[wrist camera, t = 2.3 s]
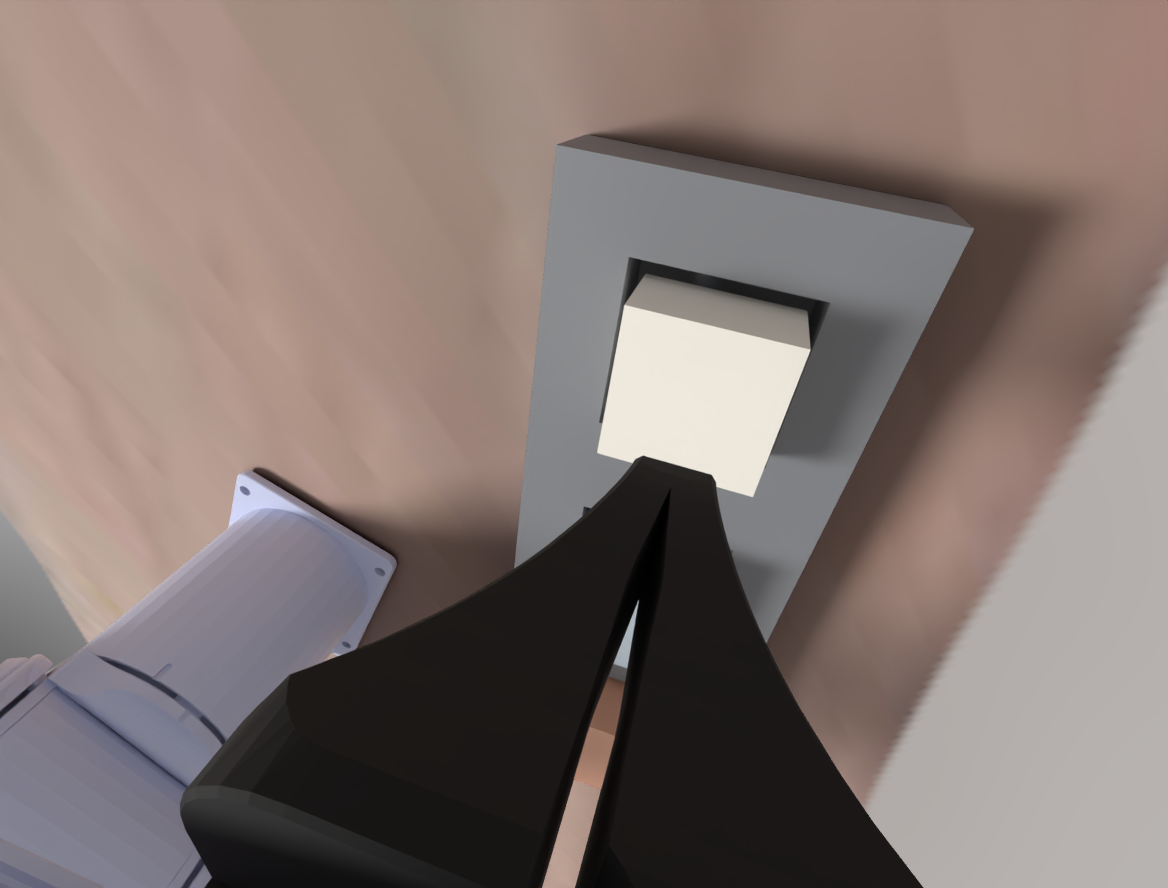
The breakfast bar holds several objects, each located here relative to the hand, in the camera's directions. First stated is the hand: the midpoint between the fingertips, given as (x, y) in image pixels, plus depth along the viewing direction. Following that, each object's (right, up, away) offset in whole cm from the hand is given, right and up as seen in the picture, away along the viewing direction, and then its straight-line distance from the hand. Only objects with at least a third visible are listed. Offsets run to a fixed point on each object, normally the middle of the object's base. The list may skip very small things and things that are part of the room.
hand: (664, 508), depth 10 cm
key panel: (+1, -2, +11) cm, 12 cm away
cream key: (+2, +3, +5) cm, 6 cm away
